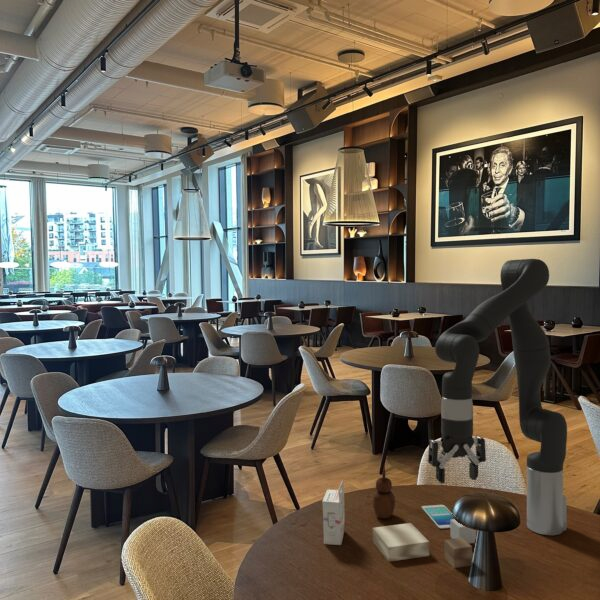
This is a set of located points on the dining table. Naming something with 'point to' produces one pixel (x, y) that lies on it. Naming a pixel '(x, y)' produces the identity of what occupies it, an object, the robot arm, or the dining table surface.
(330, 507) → the ink cartridge box
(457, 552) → the walnut cube
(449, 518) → the smartphone
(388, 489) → the wooden figurine
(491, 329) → the robot arm
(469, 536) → the grey cube
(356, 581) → the dining table surface
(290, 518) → the dining table surface
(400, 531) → the birch block
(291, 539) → the dining table surface
